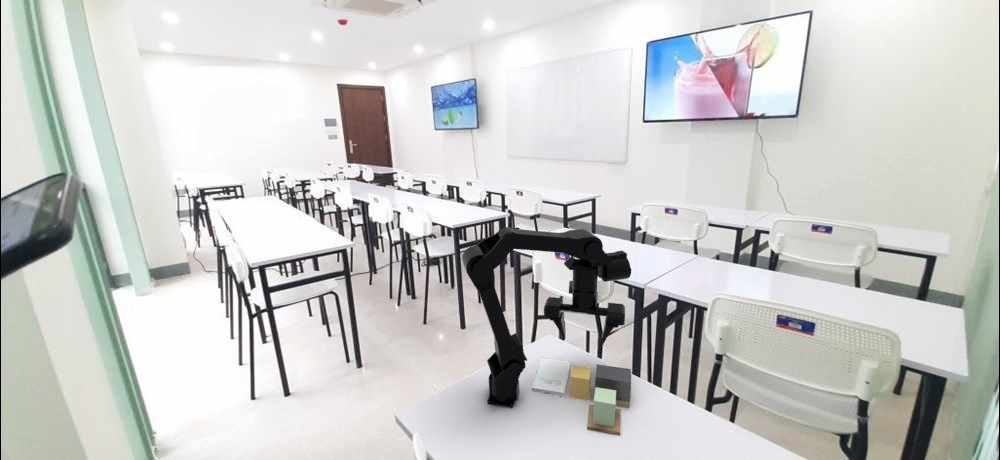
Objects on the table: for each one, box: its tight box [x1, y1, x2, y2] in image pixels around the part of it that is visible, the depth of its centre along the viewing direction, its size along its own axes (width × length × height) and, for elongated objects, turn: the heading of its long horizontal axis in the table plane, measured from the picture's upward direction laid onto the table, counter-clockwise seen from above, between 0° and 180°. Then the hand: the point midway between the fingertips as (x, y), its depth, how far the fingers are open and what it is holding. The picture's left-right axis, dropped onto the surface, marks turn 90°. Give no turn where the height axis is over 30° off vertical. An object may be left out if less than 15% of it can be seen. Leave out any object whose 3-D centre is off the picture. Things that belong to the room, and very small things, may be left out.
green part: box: [593, 387, 617, 427], centre depth 90 cm, size 4×4×6 cm
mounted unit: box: [594, 363, 632, 408], centre depth 97 cm, size 8×5×7 cm, turn 74°
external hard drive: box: [531, 357, 572, 397], centre depth 106 cm, size 2×8×12 cm
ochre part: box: [569, 364, 592, 401], centre depth 99 cm, size 4×4×6 cm
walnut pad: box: [586, 404, 622, 436], centre depth 91 cm, size 7×7×1 cm
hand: (583, 341), depth 100 cm, fingers open, 9 cm apart
